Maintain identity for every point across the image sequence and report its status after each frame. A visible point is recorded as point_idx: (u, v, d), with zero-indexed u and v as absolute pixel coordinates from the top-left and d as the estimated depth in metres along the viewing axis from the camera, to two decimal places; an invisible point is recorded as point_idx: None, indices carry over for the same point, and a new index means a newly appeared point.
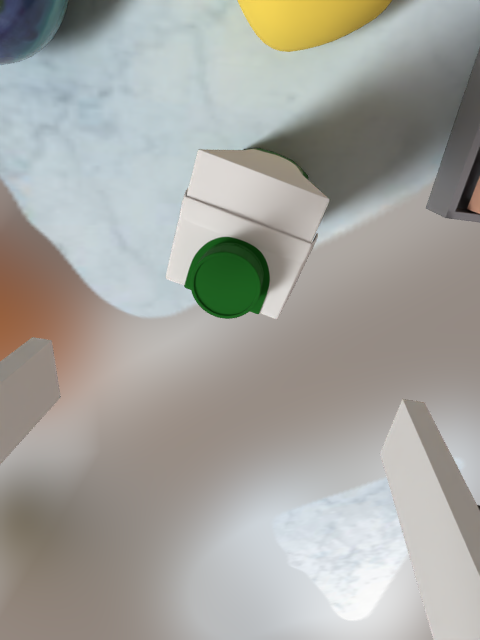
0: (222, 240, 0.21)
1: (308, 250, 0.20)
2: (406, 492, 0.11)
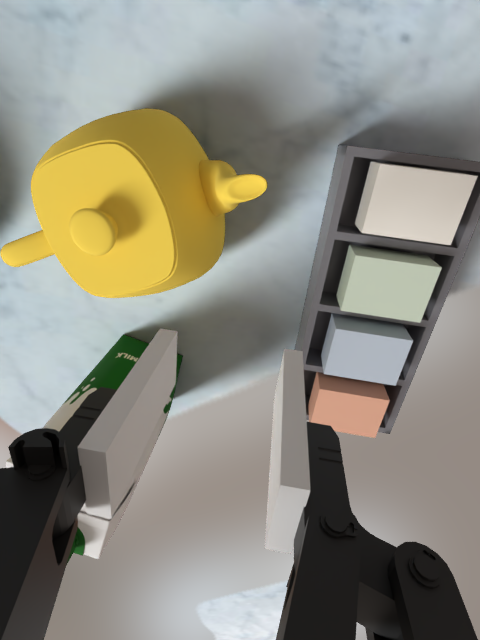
0: None
1: (108, 525, 0.25)
2: (275, 421, 0.13)
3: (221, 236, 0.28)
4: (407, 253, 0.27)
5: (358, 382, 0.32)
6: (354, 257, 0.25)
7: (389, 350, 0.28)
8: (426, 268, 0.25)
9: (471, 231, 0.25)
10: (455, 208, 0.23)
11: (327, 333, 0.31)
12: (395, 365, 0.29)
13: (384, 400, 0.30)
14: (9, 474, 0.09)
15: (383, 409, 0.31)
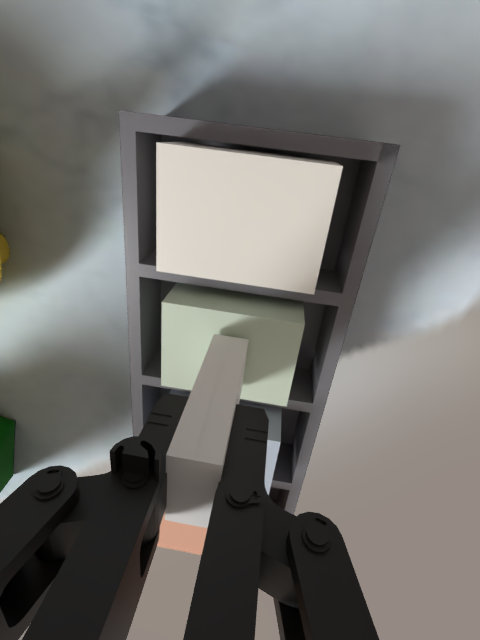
0: None
1: None
2: None
3: None
4: None
5: None
6: None
7: None
8: (279, 325, 0.15)
9: (361, 265, 0.14)
10: (311, 229, 0.12)
11: None
12: None
13: None
14: (100, 481, 0.09)
15: None
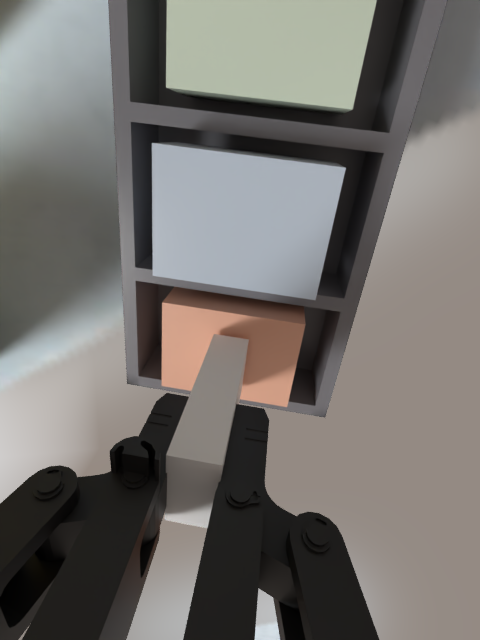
0: None
1: None
2: None
3: None
4: None
5: None
6: None
7: (289, 201, 0.11)
8: None
9: None
10: None
11: None
12: (309, 244, 0.12)
13: (295, 324, 0.15)
14: (100, 481, 0.09)
15: (295, 345, 0.15)
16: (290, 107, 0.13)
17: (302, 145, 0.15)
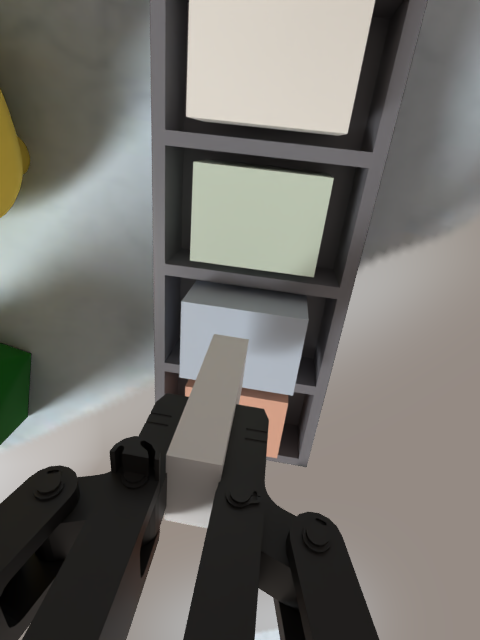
0: None
1: None
2: None
3: None
4: (295, 169, 0.17)
5: None
6: None
7: (272, 336, 0.17)
8: (308, 180, 0.15)
9: (393, 117, 0.14)
10: (347, 52, 0.12)
11: None
12: (287, 362, 0.17)
13: (281, 402, 0.20)
14: (100, 481, 0.09)
15: (281, 416, 0.21)
16: None
17: None
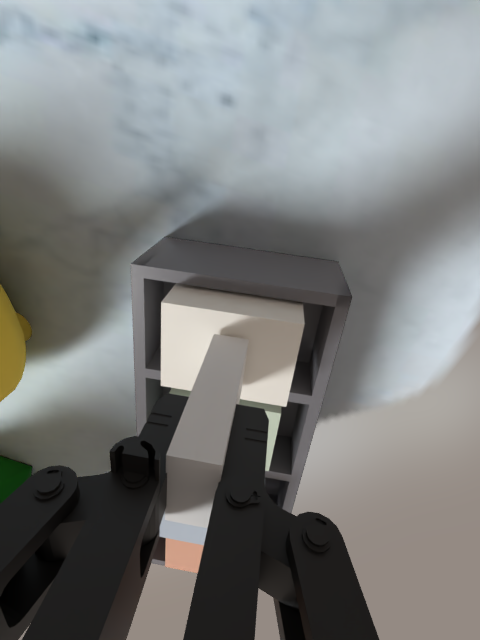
0: None
1: None
2: None
3: (1, 364, 0.20)
4: None
5: None
6: None
7: None
8: None
9: (326, 377, 0.18)
10: (282, 363, 0.15)
11: None
12: None
13: None
14: (100, 481, 0.09)
15: None
16: None
17: None
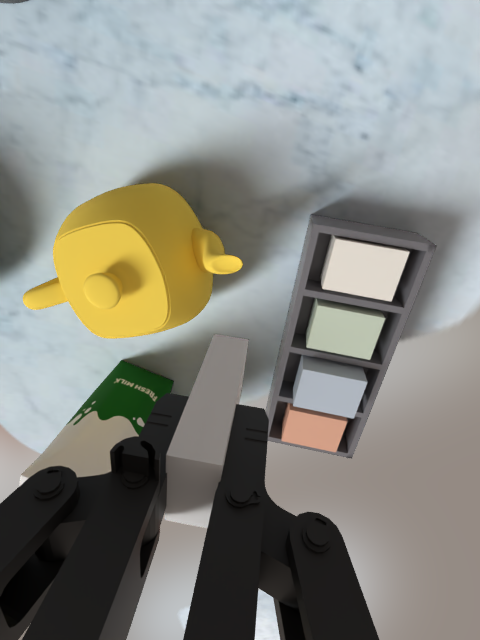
0: None
1: None
2: None
3: (209, 287, 0.33)
4: None
5: None
6: (317, 306, 0.32)
7: (347, 388, 0.33)
8: (373, 318, 0.31)
9: (414, 295, 0.30)
10: (394, 274, 0.30)
11: (298, 370, 0.36)
12: (353, 401, 0.34)
13: (343, 421, 0.37)
14: (100, 481, 0.09)
15: (342, 428, 0.37)
16: None
17: None
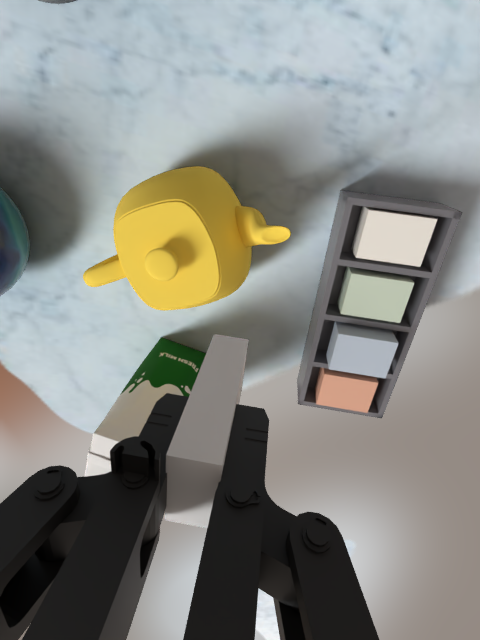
0: None
1: None
2: None
3: (249, 261, 0.36)
4: None
5: None
6: (350, 275, 0.35)
7: (380, 350, 0.36)
8: (403, 283, 0.34)
9: (441, 260, 0.33)
10: (423, 241, 0.32)
11: (331, 337, 0.39)
12: (385, 362, 0.37)
13: (374, 382, 0.40)
14: (100, 482, 0.09)
15: (373, 390, 0.40)
16: None
17: None
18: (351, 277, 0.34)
